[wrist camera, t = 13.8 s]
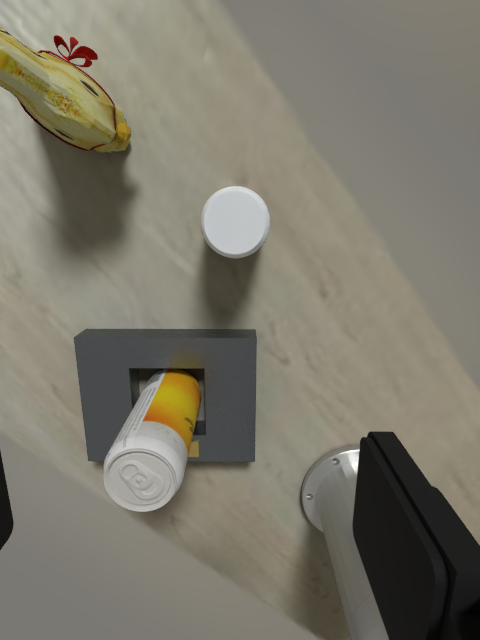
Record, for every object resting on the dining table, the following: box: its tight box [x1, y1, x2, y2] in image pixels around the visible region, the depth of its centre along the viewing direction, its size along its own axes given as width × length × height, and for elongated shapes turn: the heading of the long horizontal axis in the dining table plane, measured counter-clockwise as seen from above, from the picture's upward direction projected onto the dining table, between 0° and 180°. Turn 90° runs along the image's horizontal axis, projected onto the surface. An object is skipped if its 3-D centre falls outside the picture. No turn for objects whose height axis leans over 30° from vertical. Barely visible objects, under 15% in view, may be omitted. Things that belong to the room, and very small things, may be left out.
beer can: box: [103, 368, 201, 512], centre depth 35 cm, size 6×6×15 cm
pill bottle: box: [201, 186, 270, 258], centre depth 33 cm, size 6×6×10 cm
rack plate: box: [74, 329, 257, 462], centre depth 41 cm, size 18×14×3 cm
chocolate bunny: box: [0, 27, 131, 153], centre depth 28 cm, size 7×11×15 cm, turn 54°
